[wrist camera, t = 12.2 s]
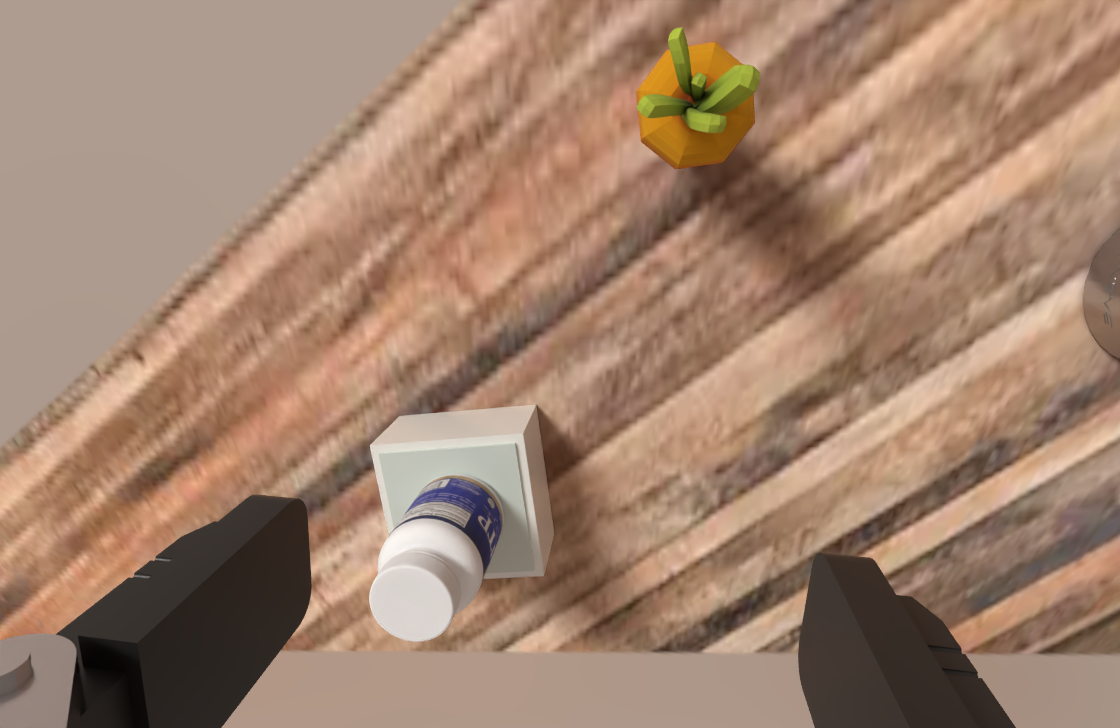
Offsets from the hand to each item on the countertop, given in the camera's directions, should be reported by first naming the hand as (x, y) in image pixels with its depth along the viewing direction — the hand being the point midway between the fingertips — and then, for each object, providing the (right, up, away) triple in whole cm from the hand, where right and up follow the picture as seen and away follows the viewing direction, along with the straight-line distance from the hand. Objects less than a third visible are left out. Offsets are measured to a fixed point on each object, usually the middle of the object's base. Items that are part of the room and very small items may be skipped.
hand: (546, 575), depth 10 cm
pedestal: (-5, -4, +33) cm, 34 cm away
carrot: (+7, +16, +26) cm, 32 cm away
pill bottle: (-6, -5, +28) cm, 29 cm away
